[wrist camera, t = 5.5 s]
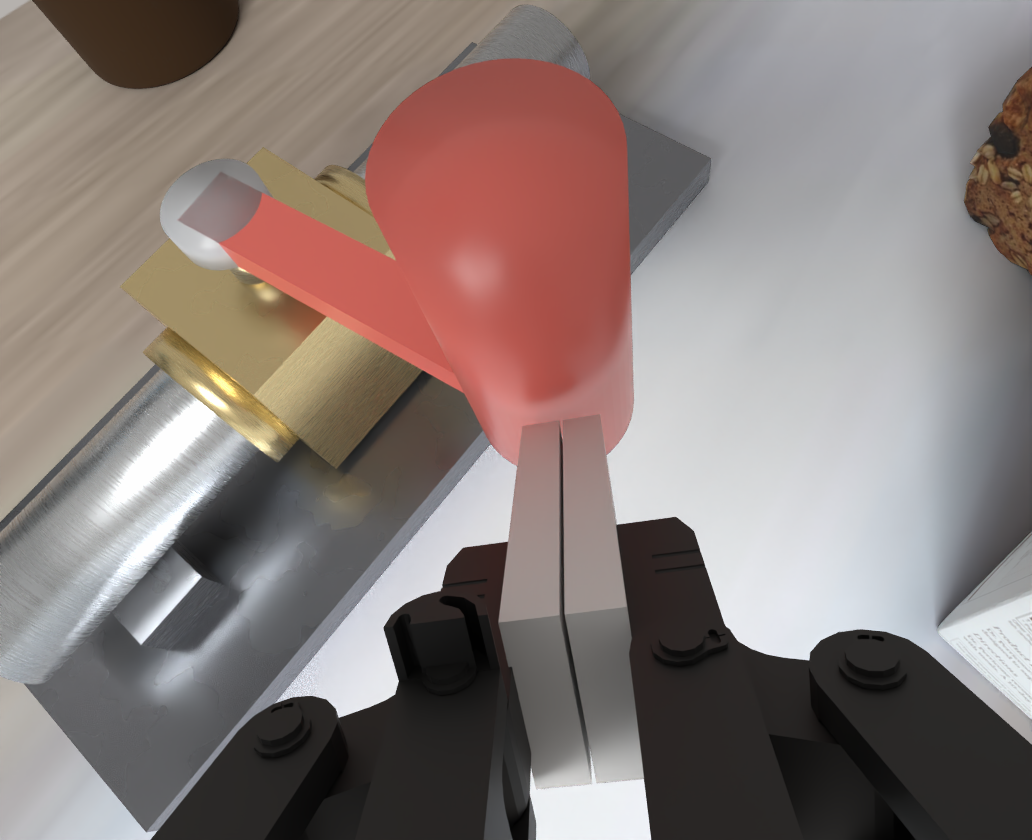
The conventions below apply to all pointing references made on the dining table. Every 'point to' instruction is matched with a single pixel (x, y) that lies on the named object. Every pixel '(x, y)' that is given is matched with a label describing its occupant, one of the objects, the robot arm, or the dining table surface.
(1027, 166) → the bread
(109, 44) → the olive oil
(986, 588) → the supplement box
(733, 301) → the dining table surface
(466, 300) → the lever
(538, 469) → the robot arm
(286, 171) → the valve pipe
